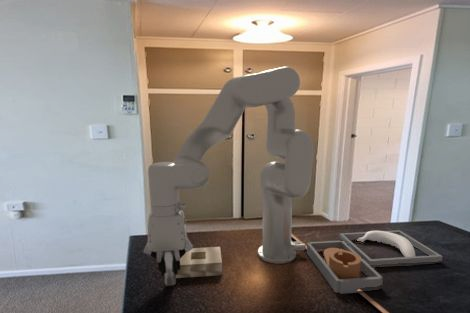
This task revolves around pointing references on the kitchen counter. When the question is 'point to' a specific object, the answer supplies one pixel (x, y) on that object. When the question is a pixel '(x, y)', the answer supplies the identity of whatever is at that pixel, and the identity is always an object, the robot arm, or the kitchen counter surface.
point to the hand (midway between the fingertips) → (169, 271)
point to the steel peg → (169, 268)
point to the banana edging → (415, 259)
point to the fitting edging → (335, 283)
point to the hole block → (200, 263)
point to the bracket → (343, 263)
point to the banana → (390, 241)
